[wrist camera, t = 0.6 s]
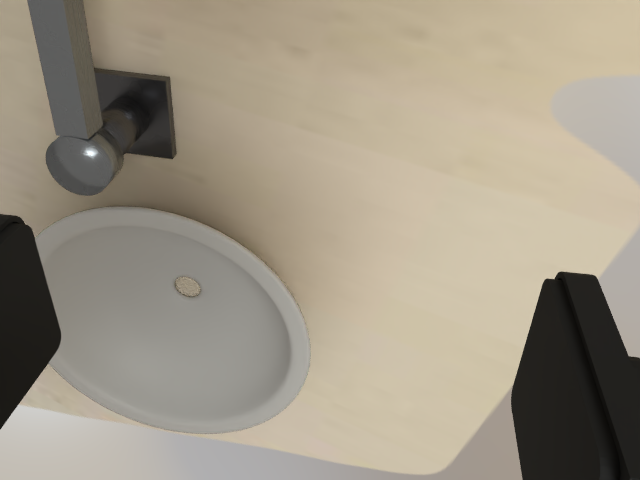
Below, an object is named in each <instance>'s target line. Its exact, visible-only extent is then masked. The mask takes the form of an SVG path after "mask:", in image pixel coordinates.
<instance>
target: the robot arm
mask: <svg viewBox="0 0 640 480" xmlns="http://www.w3.org/2000/svg"><path fill="white" fill-rule="evenodd" d="M60 342H61V330H60V326H59V323H58V319H57V316H56V312H55V309H54V305H53V302H52V298H51V294H50V291H49V287H48V284H47V280H46V277H45V273H44V270H43V266H42V263H41V259H40V256H39V252H38V249H37V245H36V242H35V238H34V235H33V232H32V229H31V228H30V227H29V226H28V225H25V223H24V221H23V220H22V219H21V218H20V217H18V216H13V215H3V214H0V429H1V428H2V426H3V425H4V423H5V422H6V421H7V419H8V418H9V417H10V415H11V413H12V412H13V411H14V410H15V408H16V407H17V405H18V404H19V403H20V401H21V400H22V399H23V397H24V396H25V395H26V393H27V392H28V390H29V389H30V388H31V386H32V385H33V384H34V382H35V381H36V379H37V378H38V377H39V375H40V374H41V372H42V371H43V370H44V368H45V367H46V366H47V364H48V363H49V361H50V360H51V359H52V357H53V356H54V355H55V353H56V352H57V350H58V348H59V346H60ZM511 405H512V406H511V407H512V413H513V420H514V427H515V433H516V439H517V446H518V452H519V459H520V465H521V471H522V478H523V480H640V358H637V357H629V356H628V354H627V351H626V349H625V346H624V344H623V342H622V339H621V336H620V334H619V331H618V329H617V326H616V324H615V322H614V319H613V316H612V314H611V311H610V309H609V306H608V304H607V301H606V299H605V296H604V294H603V292H602V289H601V286H600V284H599V282H598V279H597V278H596V276H594V275H589V274H579V273H570V272H559V273H558V274H557V275H556V277H555V279H545V281H544V283H543V285H542V289H541V292H540V295H539V299H538V302H537V306H536V309H535V313H534V316H533V319H532V323H531V326H530V330H529V333H528V337H527V340H526V344H525V347H524V350H523V354H522V357H521V361H520V364H519V368H518V371H517V375H516V378H515V381H514V385H513V389H512V397H511Z"/></svg>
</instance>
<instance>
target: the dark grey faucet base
mask: <svg viewBox="0 0 640 480" xmlns="http://www.w3.org/2000/svg"><path fill="white" fill-rule="evenodd" d="M94 73H95V79H96V85H97V91H98V97H99V104H100V110H101V116H102V122H103V126H102V128H104V129H106V130H107V131H108V132H110V133H111V134H112V135H113V136H114V137H115V139H116V140H117V141H118V143H119V144H120V147H121V149H122V152H123V155H124V154H125V153H131V154H139V155H147V156H154V157H162V158H170V159H173V158H174V157H175V155H176V142H175V131H174V120H173V108H172V97H171V85H170V77H165V76H157V75H148V74H140V73H131V72H123V71H114V70H106V69H97V68H94Z"/></svg>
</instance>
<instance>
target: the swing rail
mask: <svg viewBox="0 0 640 480" xmlns="http://www.w3.org/2000/svg"><path fill="white" fill-rule="evenodd" d="M27 1H28V5H29V10H30V15H31V19H32V24H33V29H34V33H35V38H36V43H37V47H38V52H39V57H40V61H41V66H42V71H43V75H44V80H45V85H46V89H47V94H48V99H49V104H50V108H51V113H52V118H53V122H54V127H55V132H56V135H59V137H58V138H57V139H56V140H55V141H54V142H52V143H51V144H50V146H49V147H48V149H47V152H46V164H47V167H48V169H49V171H50V173H51V175H52V176H53V178H54V179H55V180H56V181H57V182H58V183H59V184H60V185H61V186H62V187H64V188H65V189H67V190H69V191H70V192H73V193H75V194H79V195H85V196H90V195H95V194H98V193H100V192H101V191H102V190H103V189H104V188H105V187H106V186H107V185H108V184H109V183H110V182H111V180H112V179H113V178H114V177H115V176H116V175H117V174H118V173H119V171H120V170H121V168H122V166H123V160H124V158H123V152H122V149H121V147H120V144H119V143H118V141H117V140H116V139H115V137H114V136H113V135H112V134H111V133H110V132H108V131H107V130H106V129H104V128H102V126H103V122H102V116H101V110H100V104H99V97H98V91H97V85H96V79H95V73H94V67H93V61H92V54H91V48H90V42H89V36H88V30H87V24H86V18H85V11H84V5H83V0H27Z"/></svg>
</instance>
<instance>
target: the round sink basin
mask: <svg viewBox="0 0 640 480" xmlns="http://www.w3.org/2000/svg"><path fill="white" fill-rule="evenodd" d="M35 242H36V245H37V249H38V252H39V256H40V259H41V263H42V266H43V270H44V273H45V277H46V280H47V284H48V287H49V291H50V294H51V298H52V302H53V305H54V309H55V312H56V316H57V319H58V323H59V326H60V330H61V342H60V346H59V348H58V350H57V352H56V353H55V355H54V356H53V357H52V359H51V360H50V361H49V364H50V365H51V367H52V368H53V369H54V370H55V371H56V372H57V373H58V374H59V375H60V376H62V377H63V378H64V379H65V380H66V381H67V382H68V383H70V384H71V385H72V386H73V387H75V388H76V389H77V390H79V391H80V392H81V393H83V394H84V395H86V396H87V397H89V398H90V399H92V400H93V401H95V402H97V403H99V404H100V405H102V406H104V407H106V408H108V409H110V410H112V411H114V412H116V413H118V414H120V415H122V416H125V417H127V418H129V419H132V420H135V421H137V422H140V423H143V424H147V425H150V426H153V427H157V428H161V429H166V430H171V431H177V432H184V433H195V434H217V433H228V432H234V431H239V430H243V429H247V428H250V427H253V426H256V425H259V424H261V423H263V422H265V421H267V420H269V419H271V418H273V417H274V416H276V415H278V414H279V413H280V412H281V411H283V410H284V409H285V408H286V407H287V406H288V405H289V404H290V403H291V402H292V401H293V400H294V399H295V397H296V396H297V395H298V393H299V392H300V390H301V388H302V386H303V385H304V382H305V380H306V377H307V375H308V371H309V366H310V357H311V350H310V339H309V334H308V329H307V326H306V323H305V320H304V317H303V315H302V313H301V310H300V308H299V306H298V304H297V303H296V301H295V299H294V297H293V296H292V294H291V293H290V291H289V290H288V289H287V287H286V286H285V284H284V283H283V282H282V281H281V280H280V278H279V277H278V276H277V275H276V274H275V273H274V272H273V271H272V270H271V269H270V268H269V267H268V266H267V265H266V264H265V263H264V262H263V261H262V260H261V259H260V258H258V257H257V256H256V255H255V254H253V253H252V252H251V251H250V250H248V249H247V248H245V247H244V246H243V245H241V244H240V243H238V242H237V241H235V240H234V239H232V238H230V237H228V236H227V235H225V234H223V233H222V232H220V231H218V230H215V229H213V228H211V227H209V226H207V225H205V224H203V223H200V222H198V221H195V220H193V219H190V218H187V217H184V216H181V215H177V214H174V213H170V212H166V211H161V210H157V209H150V208H143V207H131V206H111V207H101V208H93V209H89V210H85V211H81V212H78V213H75V214H72V215H69V216H67V217H65V218H63V219H61V220H59V221H57V222H55V223H53V224H52V225H50V226H49V227H47V228H46V229H44V230H43V231H42V232H41V233H40V234H39V235H38V236H36V237H35ZM178 277H189V278H192V279H194V280H195V281H196V282H197V283H198V284H199V285H200V288H201V292H200V293H199V294H198V295H197V296H194V297H188V296H185V295H182V294H181V293H180V292H178V290H177V289H176V287H175V280H176V279H177V278H178Z"/></svg>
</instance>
